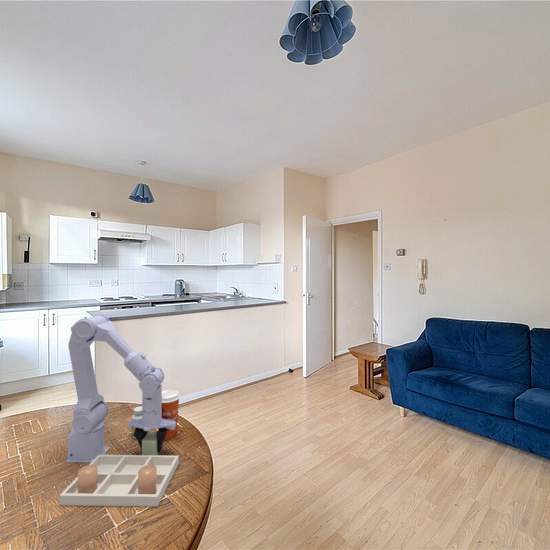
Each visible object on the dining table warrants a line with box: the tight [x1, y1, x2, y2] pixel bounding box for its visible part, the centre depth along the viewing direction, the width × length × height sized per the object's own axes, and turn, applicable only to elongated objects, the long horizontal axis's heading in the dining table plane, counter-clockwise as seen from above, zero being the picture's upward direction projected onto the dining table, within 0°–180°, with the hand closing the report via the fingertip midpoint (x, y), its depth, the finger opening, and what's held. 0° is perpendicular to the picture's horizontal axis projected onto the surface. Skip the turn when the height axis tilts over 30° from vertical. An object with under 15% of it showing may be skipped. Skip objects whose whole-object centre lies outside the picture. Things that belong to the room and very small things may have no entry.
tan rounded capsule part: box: [138, 465, 157, 494], centre depth 78 cm, size 4×4×6 cm
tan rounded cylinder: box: [77, 464, 98, 494], centre depth 78 cm, size 4×4×6 cm
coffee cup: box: [157, 389, 181, 441], centre depth 106 cm, size 8×8×15 cm
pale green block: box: [141, 432, 160, 455], centre depth 95 cm, size 4×4×6 cm
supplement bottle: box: [131, 405, 149, 440], centre depth 107 cm, size 5×5×10 cm
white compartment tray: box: [58, 454, 180, 508], centre depth 82 cm, size 24×16×3 cm
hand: (151, 450), depth 95 cm, fingers closed on pale green block, 4 cm apart
